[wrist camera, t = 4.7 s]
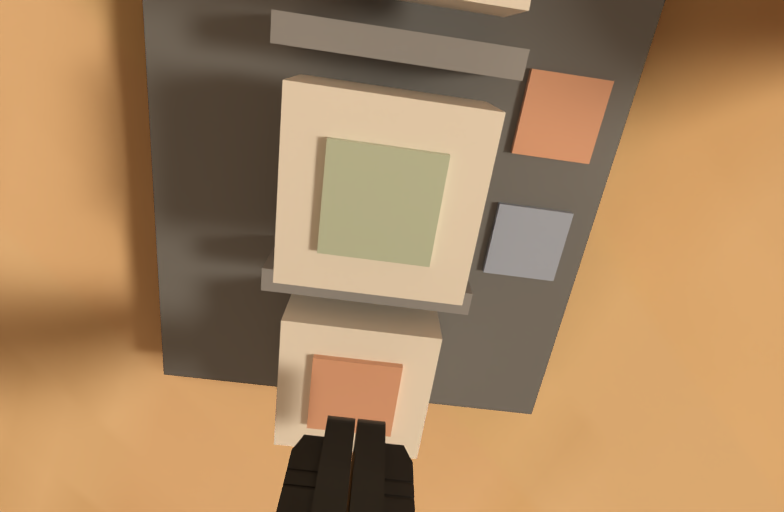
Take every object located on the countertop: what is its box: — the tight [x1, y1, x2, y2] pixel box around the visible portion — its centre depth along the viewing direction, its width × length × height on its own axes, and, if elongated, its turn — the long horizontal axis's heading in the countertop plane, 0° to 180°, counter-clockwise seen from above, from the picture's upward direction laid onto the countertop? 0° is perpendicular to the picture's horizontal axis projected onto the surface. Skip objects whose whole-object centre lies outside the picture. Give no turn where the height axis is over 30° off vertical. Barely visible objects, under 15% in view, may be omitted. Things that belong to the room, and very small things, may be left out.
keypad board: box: [143, 0, 665, 414], centre depth 14 cm, size 18×14×4 cm
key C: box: [274, 294, 442, 459], centre depth 16 cm, size 5×5×4 cm
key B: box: [273, 74, 506, 306], centre depth 12 cm, size 5×5×4 cm
